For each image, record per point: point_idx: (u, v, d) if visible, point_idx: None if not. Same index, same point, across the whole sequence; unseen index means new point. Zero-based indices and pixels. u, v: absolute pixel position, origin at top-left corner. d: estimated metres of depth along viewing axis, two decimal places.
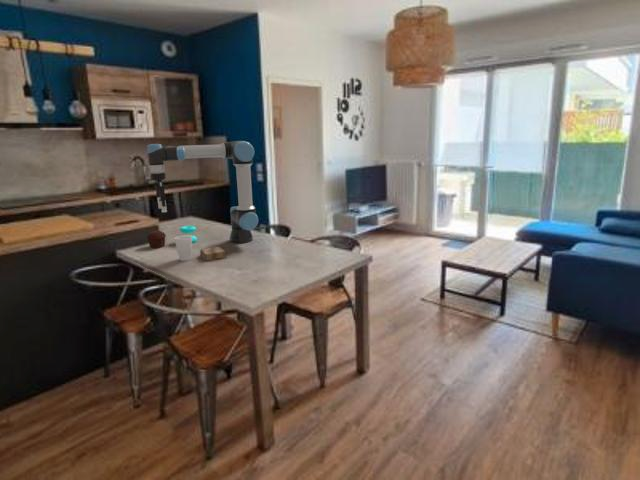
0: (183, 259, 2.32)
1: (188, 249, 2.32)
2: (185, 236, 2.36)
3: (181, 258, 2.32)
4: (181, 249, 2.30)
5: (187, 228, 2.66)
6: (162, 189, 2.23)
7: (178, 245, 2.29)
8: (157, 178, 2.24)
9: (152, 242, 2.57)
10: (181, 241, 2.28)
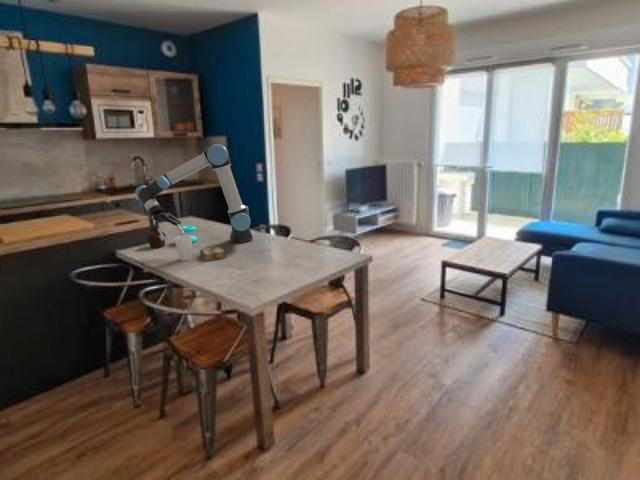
0: (183, 259, 2.32)
1: (188, 249, 2.32)
2: (185, 236, 2.36)
3: (181, 258, 2.32)
4: (181, 249, 2.30)
5: (187, 228, 2.66)
6: (150, 221, 2.32)
7: (178, 245, 2.29)
8: (150, 214, 2.37)
9: (152, 242, 2.57)
10: (181, 241, 2.28)
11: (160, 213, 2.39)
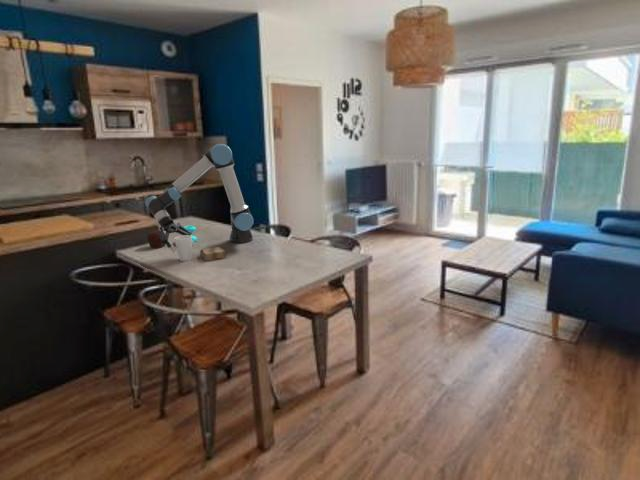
0: (183, 259, 2.32)
1: (188, 249, 2.32)
2: (185, 236, 2.36)
3: (181, 258, 2.32)
4: (181, 249, 2.30)
5: (187, 228, 2.66)
6: (160, 233, 2.29)
7: (178, 245, 2.29)
8: (160, 225, 2.34)
9: (152, 242, 2.57)
10: (181, 241, 2.28)
11: (170, 224, 2.36)
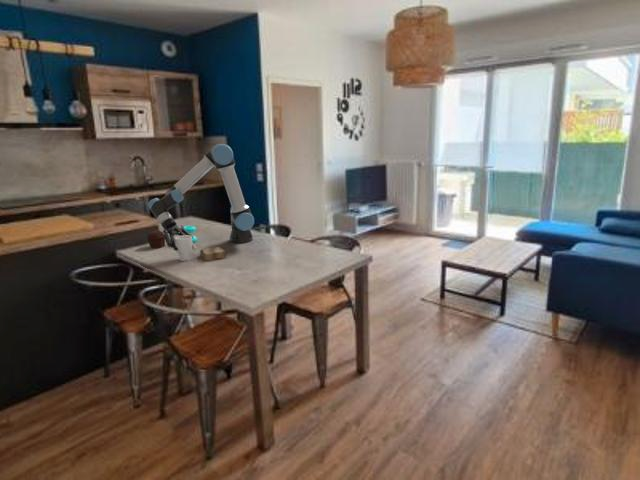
0: (183, 259, 2.32)
1: (188, 249, 2.32)
2: (185, 236, 2.36)
3: (181, 258, 2.32)
4: (181, 249, 2.30)
5: (187, 228, 2.66)
6: (165, 236, 2.29)
7: (178, 245, 2.29)
8: (163, 227, 2.34)
9: (152, 242, 2.57)
10: (181, 241, 2.28)
11: (173, 226, 2.36)
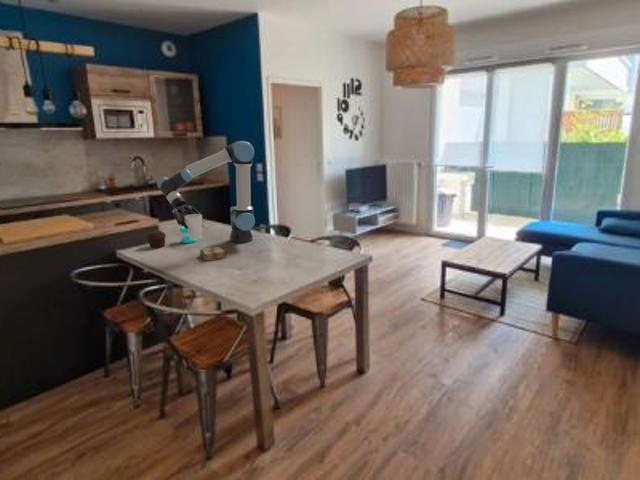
0: (193, 238, 2.31)
1: (198, 227, 2.30)
2: (195, 215, 2.35)
3: (191, 237, 2.31)
4: (191, 227, 2.28)
5: None
6: (175, 215, 2.27)
7: (188, 223, 2.28)
8: (173, 206, 2.32)
9: (152, 242, 2.57)
10: (191, 219, 2.26)
11: (183, 205, 2.34)
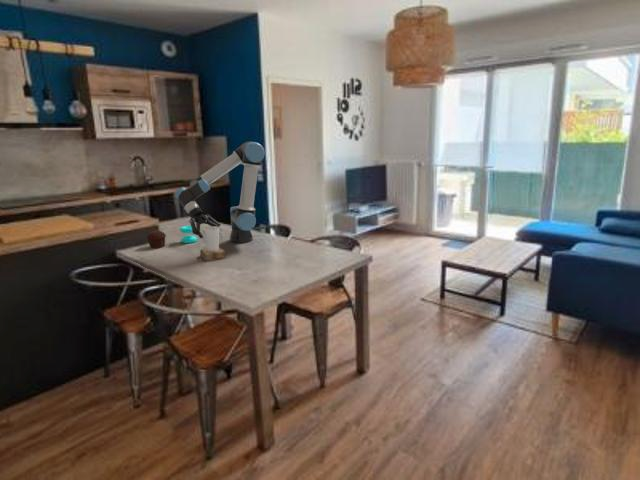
0: (211, 250, 2.35)
1: (216, 240, 2.34)
2: (212, 227, 2.39)
3: (209, 249, 2.35)
4: (209, 240, 2.33)
5: (187, 228, 2.66)
6: (192, 224, 2.31)
7: (206, 236, 2.32)
8: (191, 216, 2.36)
9: (152, 242, 2.57)
10: (209, 232, 2.31)
11: (200, 215, 2.38)
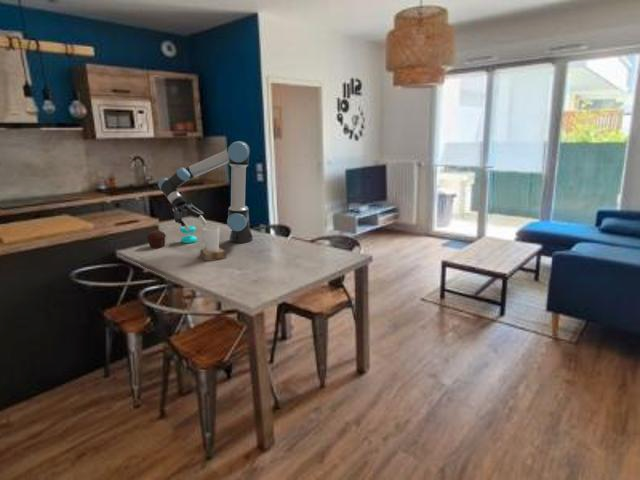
0: (211, 250, 2.35)
1: (216, 240, 2.34)
2: (212, 227, 2.39)
3: (209, 249, 2.35)
4: (209, 240, 2.33)
5: None
6: (174, 213, 2.39)
7: (207, 236, 2.32)
8: (174, 206, 2.43)
9: (152, 242, 2.57)
10: (210, 232, 2.31)
11: (183, 205, 2.46)
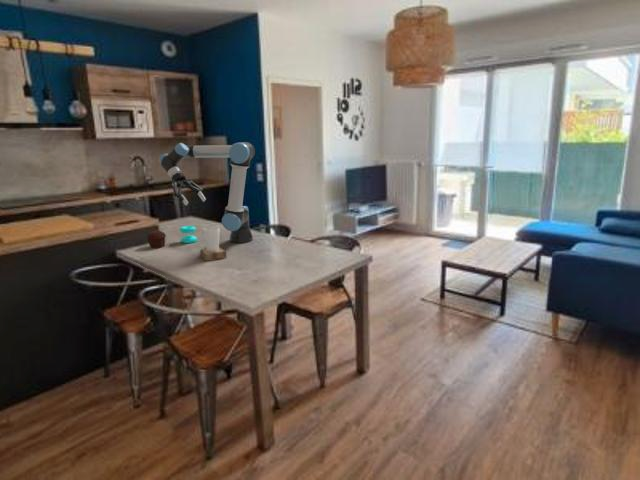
0: (211, 250, 2.35)
1: (216, 240, 2.34)
2: (212, 227, 2.39)
3: (209, 249, 2.35)
4: (209, 240, 2.33)
5: (187, 228, 2.66)
6: (174, 187, 2.42)
7: (207, 236, 2.32)
8: (173, 181, 2.47)
9: (152, 242, 2.57)
10: (210, 232, 2.31)
11: (183, 180, 2.49)
